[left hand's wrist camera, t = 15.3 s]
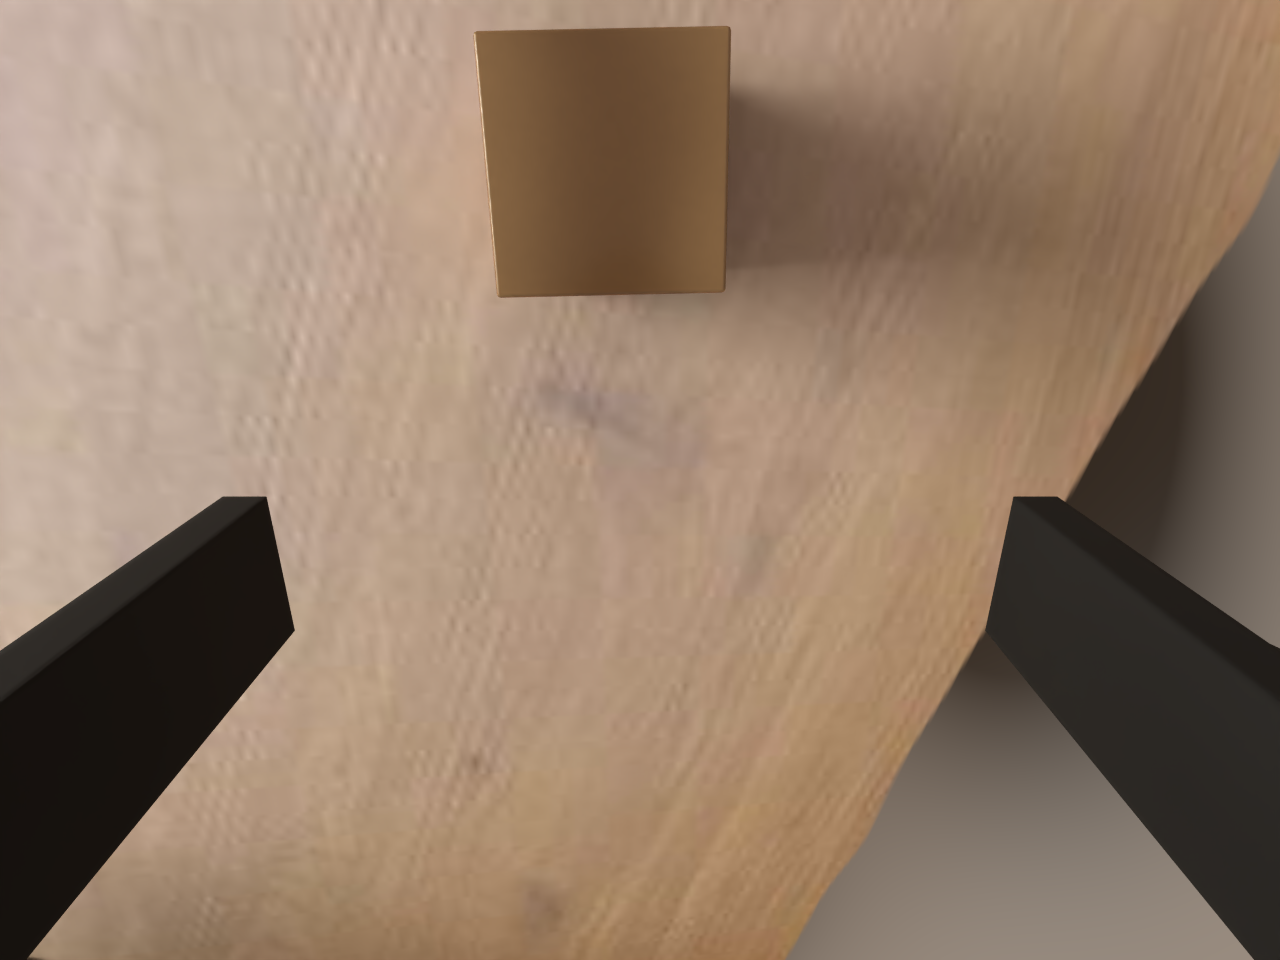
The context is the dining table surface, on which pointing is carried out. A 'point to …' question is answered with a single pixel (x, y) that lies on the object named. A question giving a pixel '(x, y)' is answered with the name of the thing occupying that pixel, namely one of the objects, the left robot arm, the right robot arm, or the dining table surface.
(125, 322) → the dining table surface
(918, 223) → the dining table surface
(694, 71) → the block
